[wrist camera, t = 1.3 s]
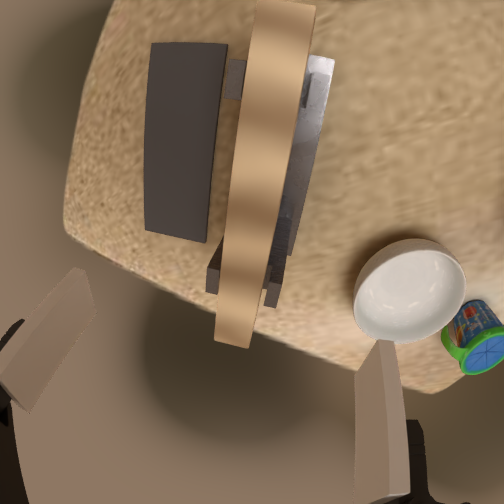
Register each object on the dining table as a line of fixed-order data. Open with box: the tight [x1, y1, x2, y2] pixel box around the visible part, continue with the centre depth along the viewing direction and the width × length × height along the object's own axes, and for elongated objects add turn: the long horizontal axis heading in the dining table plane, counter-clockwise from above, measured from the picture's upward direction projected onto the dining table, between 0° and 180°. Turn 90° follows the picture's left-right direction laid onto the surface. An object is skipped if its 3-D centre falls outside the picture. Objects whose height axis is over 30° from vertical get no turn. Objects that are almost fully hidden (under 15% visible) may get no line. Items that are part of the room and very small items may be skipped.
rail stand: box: [206, 54, 335, 308], centre depth 30 cm, size 26×9×16 cm, turn 172°
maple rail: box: [214, 0, 316, 348], centre depth 24 cm, size 30×4×4 cm, turn 172°
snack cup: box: [441, 300, 504, 375], centre depth 39 cm, size 16×10×10 cm
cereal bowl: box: [353, 238, 466, 344], centre depth 39 cm, size 17×17×7 cm
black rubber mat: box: [144, 42, 228, 243], centre depth 38 cm, size 28×10×1 cm, turn 172°
